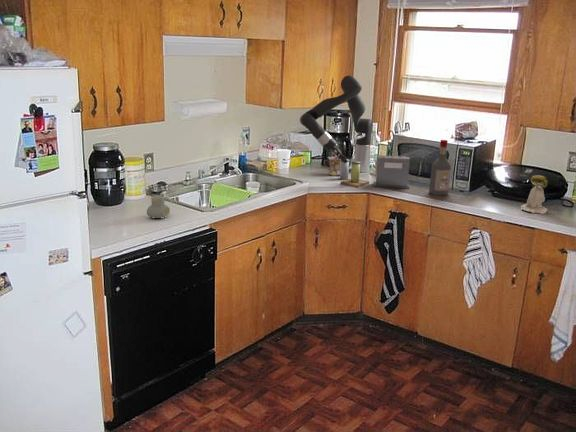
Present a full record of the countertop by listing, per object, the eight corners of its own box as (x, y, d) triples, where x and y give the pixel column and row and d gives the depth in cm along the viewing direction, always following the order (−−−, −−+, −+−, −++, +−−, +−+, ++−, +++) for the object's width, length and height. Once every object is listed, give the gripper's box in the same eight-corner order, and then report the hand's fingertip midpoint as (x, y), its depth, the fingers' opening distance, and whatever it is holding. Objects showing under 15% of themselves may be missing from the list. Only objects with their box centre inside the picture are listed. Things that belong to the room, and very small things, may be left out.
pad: (351, 180, 359) (351, 178, 359) (368, 183, 352) (369, 181, 352) (340, 183, 350) (340, 181, 350) (357, 187, 343) (358, 185, 343)
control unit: (373, 182, 354) (375, 154, 349) (407, 184, 352) (410, 156, 347) (374, 186, 345) (376, 157, 340) (409, 188, 344) (411, 159, 338)
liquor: (450, 195, 332) (456, 141, 323) (435, 196, 330) (441, 142, 321) (441, 190, 341) (446, 138, 332) (427, 191, 338) (432, 139, 329)
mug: (342, 173, 375) (343, 156, 372) (342, 177, 366) (343, 160, 363) (323, 172, 376) (324, 156, 373) (322, 176, 367) (323, 159, 364)
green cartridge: (349, 180, 353) (351, 160, 350) (358, 180, 353) (359, 160, 350) (350, 182, 348) (352, 162, 345) (359, 182, 349) (361, 162, 345)
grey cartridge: (342, 177, 365) (343, 158, 361) (349, 178, 362) (351, 159, 358) (338, 179, 361) (339, 159, 357) (345, 180, 358) (346, 160, 354)
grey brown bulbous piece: (161, 221, 276) (160, 200, 273) (145, 219, 278) (143, 199, 275) (171, 214, 286) (171, 194, 283) (156, 213, 288) (155, 193, 285)
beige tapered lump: (516, 206, 313) (521, 172, 308) (540, 207, 314) (545, 173, 309) (526, 213, 302) (531, 178, 297) (550, 213, 303) (556, 178, 297)
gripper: (320, 143, 350) (339, 162, 353) (322, 147, 336) (342, 167, 340) (330, 134, 348) (348, 153, 352) (332, 138, 335) (351, 158, 338)
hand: (345, 160), depth 346 cm, fingers open, 8 cm apart
